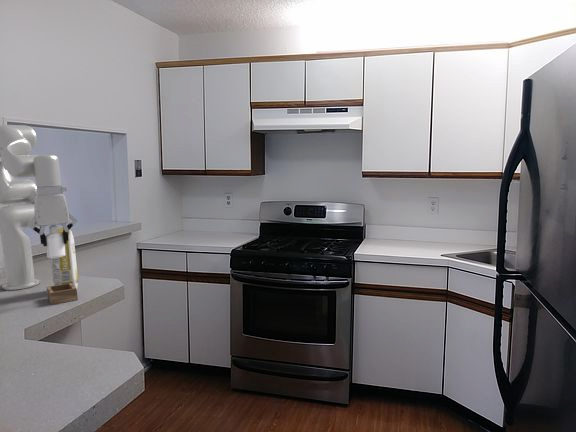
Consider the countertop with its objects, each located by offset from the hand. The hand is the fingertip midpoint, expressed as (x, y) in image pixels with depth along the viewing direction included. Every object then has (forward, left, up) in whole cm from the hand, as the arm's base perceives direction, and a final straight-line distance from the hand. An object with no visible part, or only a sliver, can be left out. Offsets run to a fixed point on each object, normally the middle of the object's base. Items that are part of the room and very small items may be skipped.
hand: (55, 244), depth 157 cm
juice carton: (-11, +3, -20) cm, 23 cm away
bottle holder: (0, 0, -20) cm, 20 cm away
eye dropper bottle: (0, 0, -5) cm, 5 cm away
